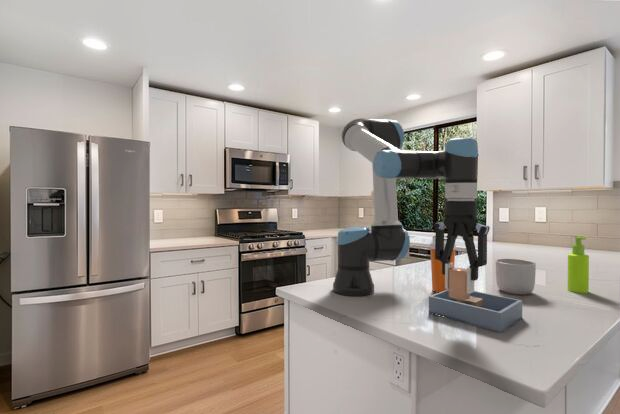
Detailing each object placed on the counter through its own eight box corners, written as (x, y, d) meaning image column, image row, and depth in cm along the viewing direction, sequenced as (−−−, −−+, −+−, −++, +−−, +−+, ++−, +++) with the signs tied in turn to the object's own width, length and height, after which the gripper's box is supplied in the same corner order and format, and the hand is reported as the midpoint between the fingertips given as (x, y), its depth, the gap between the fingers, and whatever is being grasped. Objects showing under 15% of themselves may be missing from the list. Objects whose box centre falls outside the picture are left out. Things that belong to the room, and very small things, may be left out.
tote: (428, 313, 98) (428, 296, 98) (453, 302, 108) (453, 286, 108) (500, 332, 83) (501, 313, 83) (522, 318, 93) (522, 300, 93)
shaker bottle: (458, 294, 117) (458, 237, 116) (431, 293, 118) (431, 237, 118) (452, 288, 125) (452, 235, 125) (427, 287, 127) (427, 234, 127)
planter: (512, 286, 128) (512, 257, 127) (544, 294, 116) (544, 263, 116) (487, 289, 124) (487, 259, 124) (517, 298, 112) (517, 266, 112)
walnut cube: (457, 316, 94) (457, 298, 94) (464, 312, 97) (464, 295, 97) (475, 320, 90) (475, 302, 90) (482, 316, 93) (482, 298, 93)
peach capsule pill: (444, 296, 86) (445, 269, 86) (454, 292, 89) (454, 266, 89) (464, 301, 82) (464, 273, 82) (473, 297, 86) (473, 270, 85)
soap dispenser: (571, 293, 117) (572, 236, 117) (565, 288, 124) (565, 234, 123) (592, 294, 115) (593, 237, 115) (584, 289, 122) (585, 235, 121)
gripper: (421, 199, 89) (420, 285, 90) (492, 200, 76) (490, 301, 77) (435, 199, 94) (434, 280, 95) (504, 200, 81) (502, 295, 82)
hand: (459, 289), depth 86 cm, fingers closed on peach capsule pill, 5 cm apart
